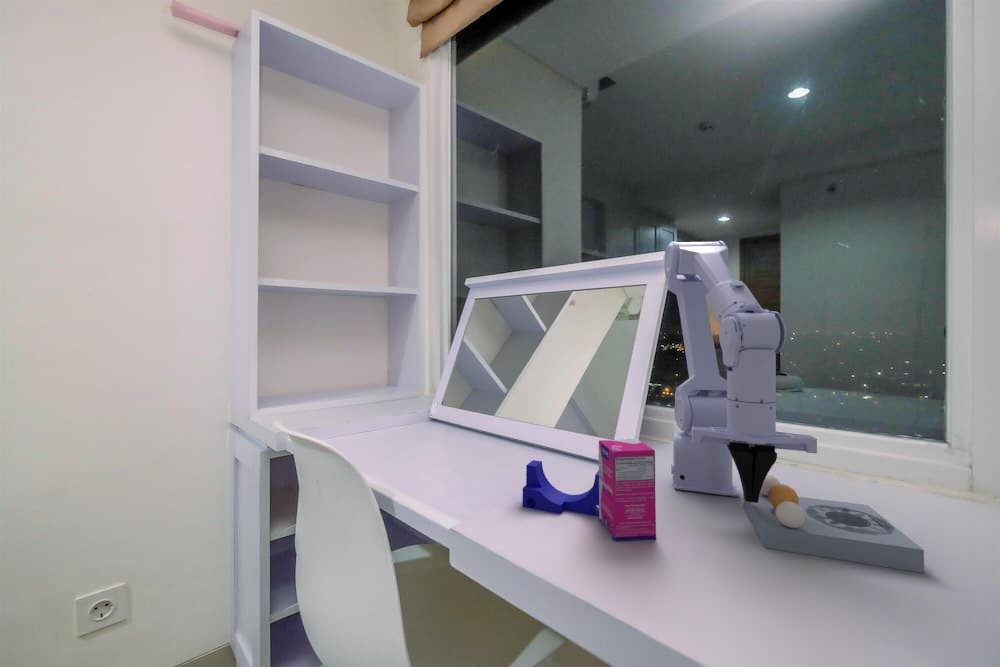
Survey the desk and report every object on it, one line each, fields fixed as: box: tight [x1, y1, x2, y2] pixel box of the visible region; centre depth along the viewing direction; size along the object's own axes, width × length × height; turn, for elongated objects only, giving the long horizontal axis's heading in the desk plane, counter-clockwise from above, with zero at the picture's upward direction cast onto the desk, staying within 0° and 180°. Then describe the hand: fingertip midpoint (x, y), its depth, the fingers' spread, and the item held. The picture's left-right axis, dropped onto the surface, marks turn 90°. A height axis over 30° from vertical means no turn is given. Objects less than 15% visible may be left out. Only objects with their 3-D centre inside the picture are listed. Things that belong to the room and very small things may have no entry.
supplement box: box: [598, 438, 657, 542], centre depth 55 cm, size 6×6×12 cm
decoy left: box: [760, 474, 781, 496], centre depth 61 cm, size 3×3×3 cm
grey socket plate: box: [743, 492, 925, 574], centre depth 54 cm, size 15×13×2 cm
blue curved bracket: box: [522, 459, 599, 518], centre depth 62 cm, size 12×4×6 cm, turn 66°
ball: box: [768, 483, 799, 508], centre depth 55 cm, size 3×3×3 cm
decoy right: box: [776, 501, 806, 528], centre depth 51 cm, size 3×3×3 cm
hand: (750, 499), depth 57 cm, fingers closed
